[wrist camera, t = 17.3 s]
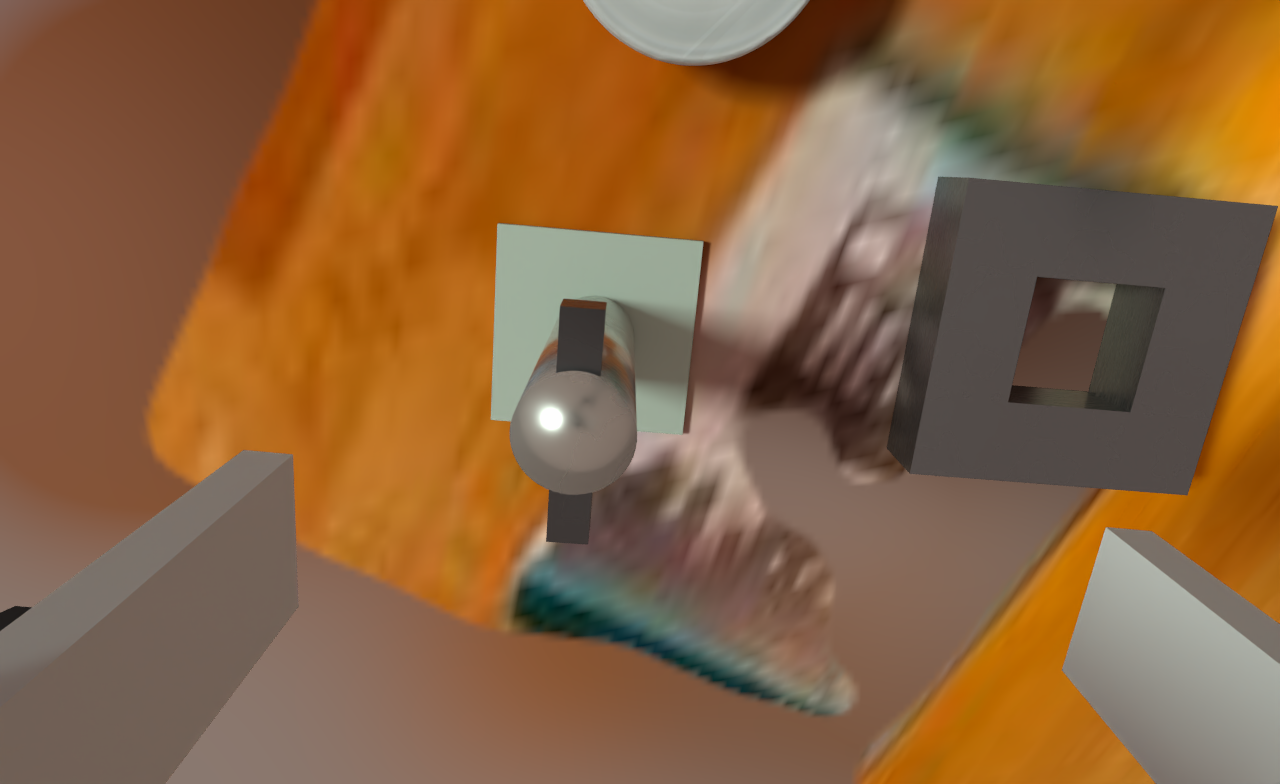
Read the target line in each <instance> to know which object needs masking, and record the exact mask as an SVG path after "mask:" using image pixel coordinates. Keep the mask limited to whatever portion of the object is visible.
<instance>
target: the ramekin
mask: <svg viewBox="0 0 1280 784" xmlns="http://www.w3.org/2000/svg"><path fill="white" fill-rule="evenodd" d="M583 1H584V2H585V4H586V5H587V7H588V8H589V10H590V11H591V12H592V14H593V15H594V16H595V17H596V19H597V20H598V21H599V22H600V23H601V24H602V25H603V26H604V27H605V28H606V29H607V30H608V31H609V32H610V33H611V34H612V35H614V36H615V37H616V38H617V39H619V40H620V41H621V42H623V43H624V44H626V45H627V46H629V47H631V48H632V49H634V50H636V51H638V52H640V53H642V54H644V55H646V56H648V57H651V58H653V59H656V60H659V61H663V62H667V63H672V64H677V65H687V66H701V65H711V64H718V63H722V62H726V61H729V60H733V59H736V58H739V57H741V56H743V55H745V54H747V53H750V52H752V51H754V50H756V49H757V48H759V47H761V46H763V45H764V44H766V43H767V42H769V41H770V40H772V39H773V38H774V37H776V36H777V35H778V34H779V33H781V32H782V31H783V30H784V29H785V28H786V27H787V26H788V25H789V24H790V23H791V22H792V21H793V20H794V19H795V18H796V17H797V16H798V15H799V14H800V12H801V11H802V10H803V9H804V7H805V6H806V5H807V3H808V2H809V1H810V0H583Z"/></svg>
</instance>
